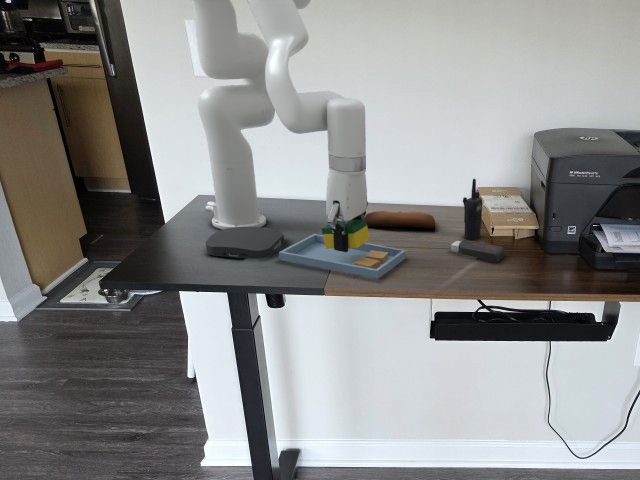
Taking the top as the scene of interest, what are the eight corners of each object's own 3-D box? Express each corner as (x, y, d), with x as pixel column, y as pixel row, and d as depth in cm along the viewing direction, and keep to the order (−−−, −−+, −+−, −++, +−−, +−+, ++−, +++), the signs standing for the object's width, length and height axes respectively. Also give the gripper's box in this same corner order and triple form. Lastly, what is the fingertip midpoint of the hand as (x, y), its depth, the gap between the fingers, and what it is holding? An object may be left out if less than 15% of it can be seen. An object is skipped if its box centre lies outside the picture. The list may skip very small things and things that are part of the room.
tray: (280, 262, 147) (279, 252, 146) (315, 243, 159) (314, 233, 158) (377, 281, 142) (377, 270, 140) (406, 260, 154) (406, 250, 152)
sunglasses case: (433, 220, 179) (434, 202, 174) (434, 240, 176) (435, 223, 170) (364, 218, 177) (363, 200, 171) (364, 239, 173) (363, 221, 167)
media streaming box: (228, 235, 159) (226, 222, 158) (289, 240, 159) (288, 228, 158) (200, 256, 147) (198, 243, 145) (267, 262, 147) (265, 249, 145)
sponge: (325, 248, 147) (321, 228, 144) (340, 239, 152) (336, 220, 150) (356, 248, 144) (352, 227, 142) (370, 239, 150) (366, 219, 148)
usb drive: (496, 263, 156) (497, 251, 155) (449, 253, 159) (449, 242, 158) (504, 256, 160) (505, 245, 159) (457, 247, 163) (458, 236, 162)
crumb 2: (365, 261, 149) (365, 255, 149) (371, 256, 153) (371, 250, 152) (382, 264, 149) (382, 258, 148) (388, 258, 152) (388, 252, 152)
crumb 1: (354, 268, 145) (354, 262, 145) (364, 263, 149) (364, 257, 148) (370, 272, 144) (369, 266, 143) (380, 266, 147) (380, 260, 147)
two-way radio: (473, 241, 168) (476, 180, 161) (457, 238, 170) (459, 178, 162) (482, 235, 173) (485, 176, 165) (466, 232, 174) (469, 173, 167)
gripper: (351, 152, 147) (353, 231, 156) (308, 168, 133) (313, 254, 142) (382, 157, 146) (382, 237, 155) (343, 174, 131) (345, 261, 140)
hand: (349, 245), depth 148 cm, fingers closed on sponge, 6 cm apart
